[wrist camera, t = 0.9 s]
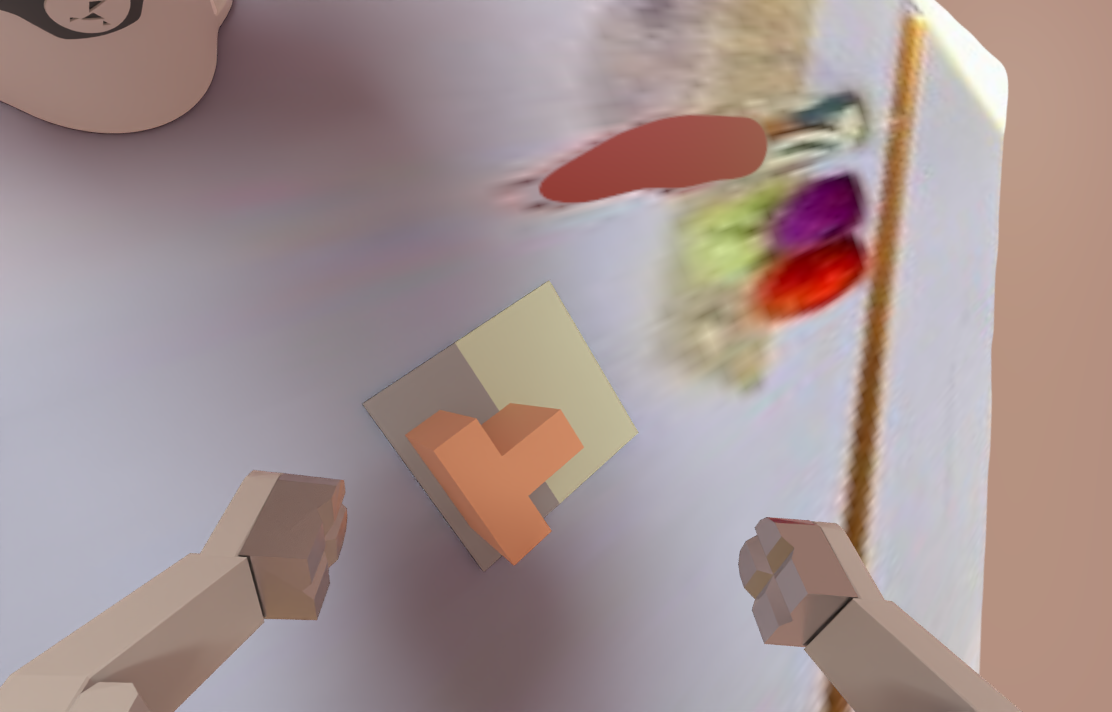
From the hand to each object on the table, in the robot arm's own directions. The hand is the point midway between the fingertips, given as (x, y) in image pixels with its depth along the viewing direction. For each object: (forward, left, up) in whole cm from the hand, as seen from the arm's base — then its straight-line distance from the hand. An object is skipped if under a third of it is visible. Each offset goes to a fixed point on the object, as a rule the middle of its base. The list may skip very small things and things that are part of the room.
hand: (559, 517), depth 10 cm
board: (+8, +10, -35) cm, 37 cm away
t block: (+8, +6, -34) cm, 36 cm away
